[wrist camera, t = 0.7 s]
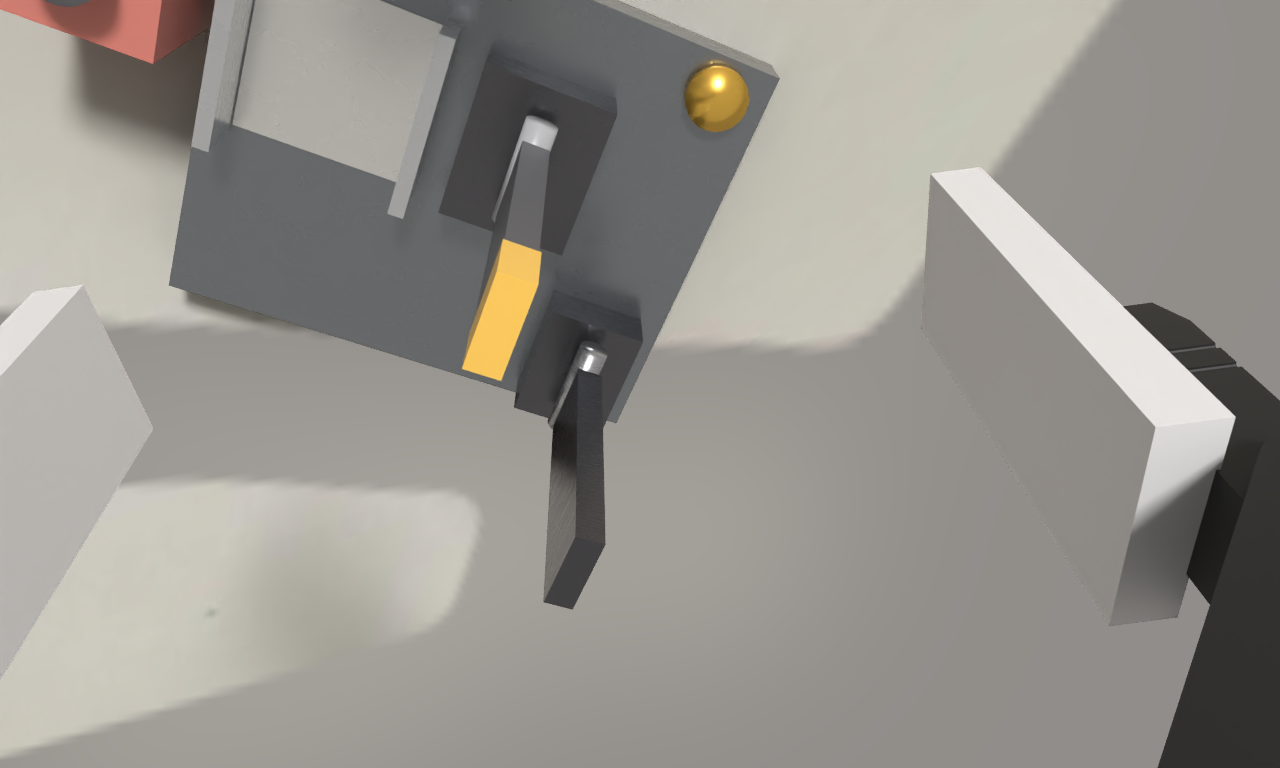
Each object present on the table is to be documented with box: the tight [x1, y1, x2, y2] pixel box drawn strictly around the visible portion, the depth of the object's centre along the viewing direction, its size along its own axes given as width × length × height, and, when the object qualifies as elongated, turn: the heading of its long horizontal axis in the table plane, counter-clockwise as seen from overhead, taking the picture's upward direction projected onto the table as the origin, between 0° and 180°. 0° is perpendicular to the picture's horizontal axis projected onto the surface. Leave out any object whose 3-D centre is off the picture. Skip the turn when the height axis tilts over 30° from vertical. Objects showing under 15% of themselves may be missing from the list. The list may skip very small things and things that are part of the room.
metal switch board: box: [169, 0, 780, 609], centre depth 33 cm, size 20×17×16 cm
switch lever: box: [462, 116, 558, 381], centre depth 30 cm, size 1×4×12 cm, turn 158°
